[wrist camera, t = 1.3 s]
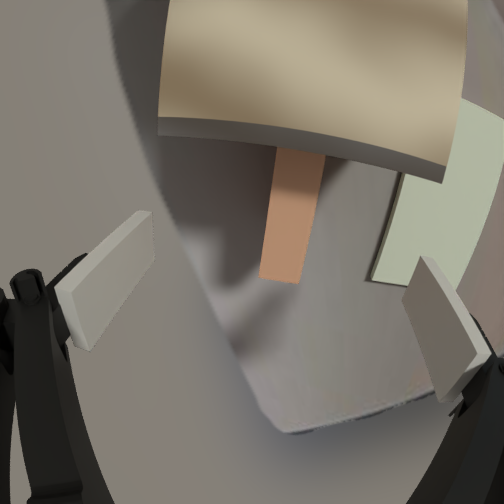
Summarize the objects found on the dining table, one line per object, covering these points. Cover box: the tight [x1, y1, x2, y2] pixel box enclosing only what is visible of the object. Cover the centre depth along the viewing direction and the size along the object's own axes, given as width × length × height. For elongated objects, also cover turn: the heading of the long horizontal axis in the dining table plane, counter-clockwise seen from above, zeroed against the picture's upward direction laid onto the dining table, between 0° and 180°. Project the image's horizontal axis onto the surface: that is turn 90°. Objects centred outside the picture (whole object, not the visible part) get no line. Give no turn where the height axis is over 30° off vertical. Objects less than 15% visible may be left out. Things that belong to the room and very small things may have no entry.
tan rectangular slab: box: [258, 147, 326, 284], centre depth 18 cm, size 16×2×9 cm, turn 174°
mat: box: [370, 98, 504, 290], centre depth 22 cm, size 18×10×1 cm, turn 174°
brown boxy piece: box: [157, 0, 468, 184], centre depth 12 cm, size 15×12×12 cm
